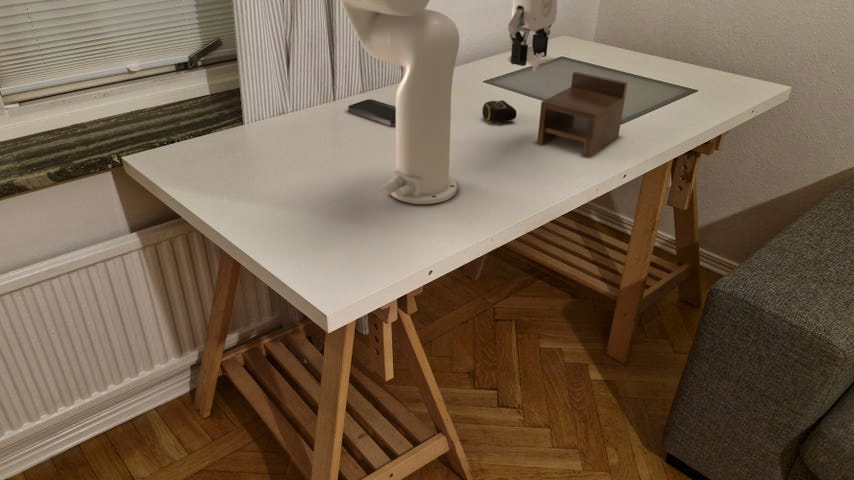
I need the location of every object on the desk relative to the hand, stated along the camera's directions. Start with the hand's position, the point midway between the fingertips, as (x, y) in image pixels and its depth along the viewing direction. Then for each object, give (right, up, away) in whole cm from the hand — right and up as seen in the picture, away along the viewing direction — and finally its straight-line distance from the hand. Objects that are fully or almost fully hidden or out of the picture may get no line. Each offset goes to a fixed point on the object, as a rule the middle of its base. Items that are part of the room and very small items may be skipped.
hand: (528, 59), depth 138 cm
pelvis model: (0, -1, +1) cm, 2 cm away
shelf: (+12, -14, +10) cm, 21 cm away
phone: (-31, -6, +23) cm, 39 cm away
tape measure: (-3, -8, +21) cm, 22 cm away
